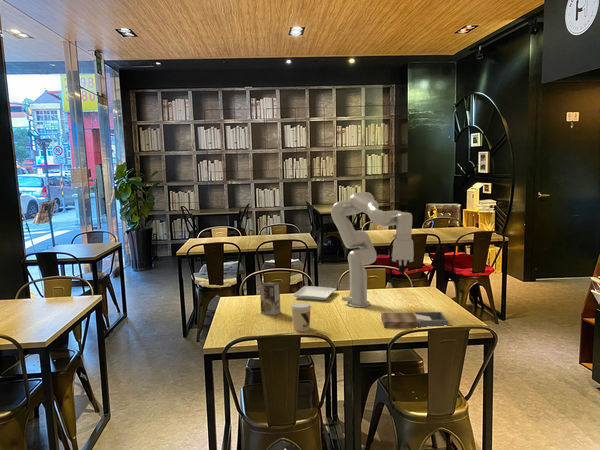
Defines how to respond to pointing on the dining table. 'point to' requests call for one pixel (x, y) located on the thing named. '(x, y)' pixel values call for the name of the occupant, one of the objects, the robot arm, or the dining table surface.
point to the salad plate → (314, 293)
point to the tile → (422, 318)
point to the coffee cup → (301, 316)
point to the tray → (432, 319)
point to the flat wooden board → (399, 320)
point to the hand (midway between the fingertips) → (401, 272)
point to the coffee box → (270, 298)
